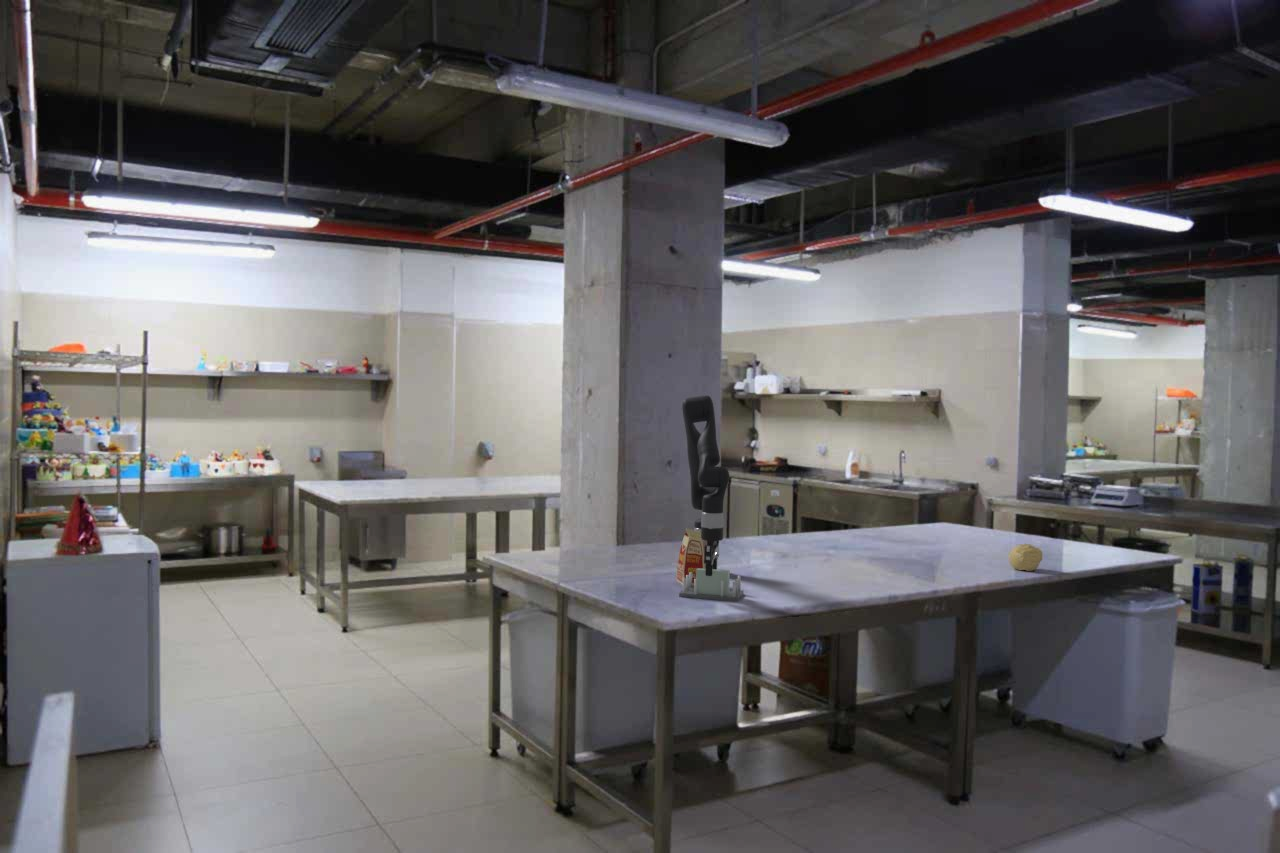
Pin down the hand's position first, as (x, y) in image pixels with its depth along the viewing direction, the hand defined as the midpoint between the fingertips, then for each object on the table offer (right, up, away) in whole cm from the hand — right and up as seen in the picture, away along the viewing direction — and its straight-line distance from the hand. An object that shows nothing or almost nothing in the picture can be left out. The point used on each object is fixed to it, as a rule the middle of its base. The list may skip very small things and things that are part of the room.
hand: (711, 573), depth 303 cm
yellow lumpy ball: (+134, -10, +66) cm, 150 cm away
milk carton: (-5, -8, +24) cm, 26 cm away
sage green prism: (0, -7, 0) cm, 7 cm away
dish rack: (0, -8, +3) cm, 8 cm away
